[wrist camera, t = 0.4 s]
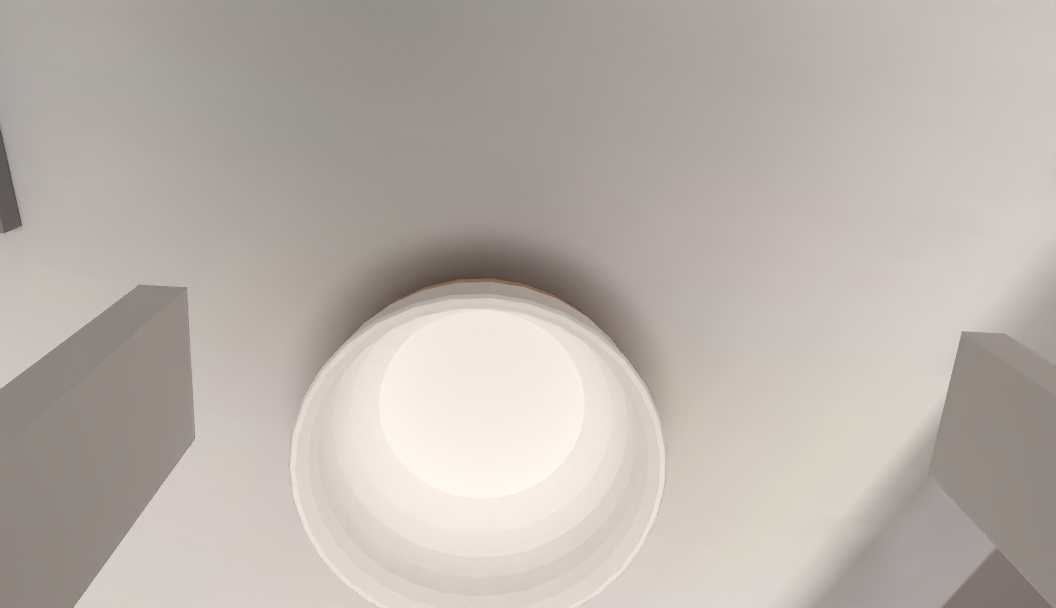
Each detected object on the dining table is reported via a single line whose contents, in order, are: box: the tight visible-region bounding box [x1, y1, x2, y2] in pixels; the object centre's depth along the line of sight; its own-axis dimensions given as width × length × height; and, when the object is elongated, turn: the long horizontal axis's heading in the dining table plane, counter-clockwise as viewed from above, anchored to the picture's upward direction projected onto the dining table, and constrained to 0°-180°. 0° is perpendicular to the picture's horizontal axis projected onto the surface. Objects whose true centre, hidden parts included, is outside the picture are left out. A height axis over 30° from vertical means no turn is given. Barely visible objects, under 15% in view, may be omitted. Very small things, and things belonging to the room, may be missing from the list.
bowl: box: [289, 278, 667, 608], centre depth 41 cm, size 16×16×8 cm
